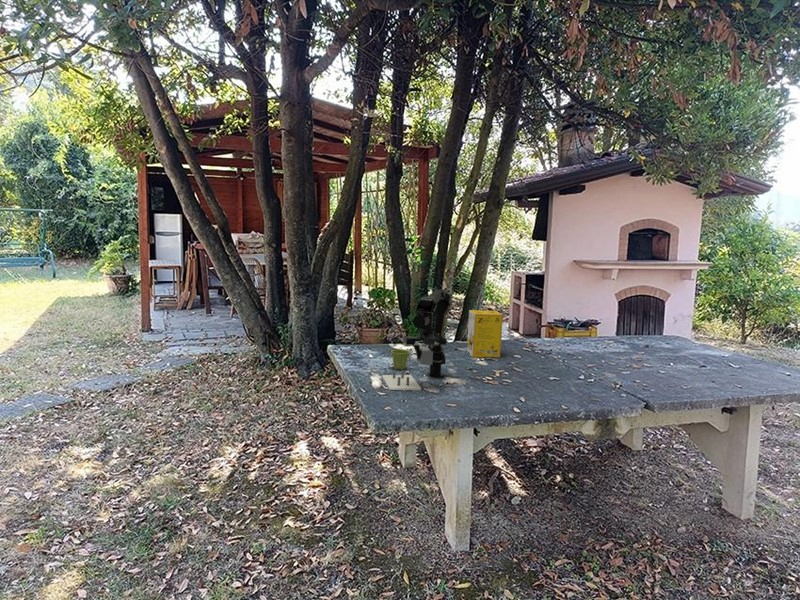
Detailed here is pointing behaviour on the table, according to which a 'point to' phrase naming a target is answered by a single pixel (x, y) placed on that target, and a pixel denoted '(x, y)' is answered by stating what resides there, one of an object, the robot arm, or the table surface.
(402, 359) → the plant pot
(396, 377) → the peg board
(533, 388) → the table surface
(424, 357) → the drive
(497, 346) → the packaging box
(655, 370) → the table surface
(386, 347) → the table surface
